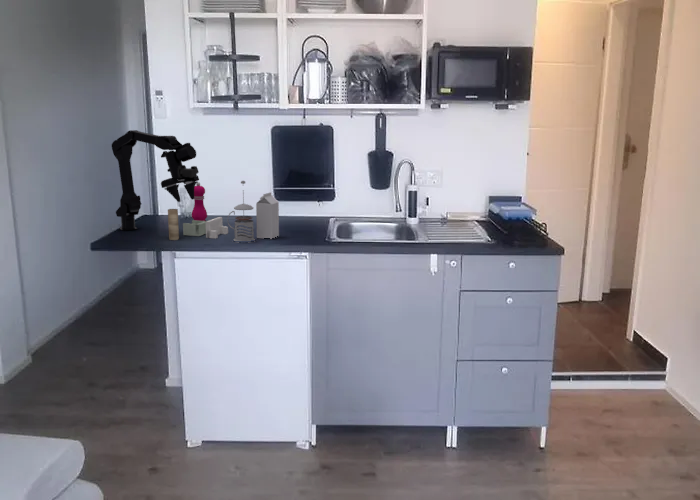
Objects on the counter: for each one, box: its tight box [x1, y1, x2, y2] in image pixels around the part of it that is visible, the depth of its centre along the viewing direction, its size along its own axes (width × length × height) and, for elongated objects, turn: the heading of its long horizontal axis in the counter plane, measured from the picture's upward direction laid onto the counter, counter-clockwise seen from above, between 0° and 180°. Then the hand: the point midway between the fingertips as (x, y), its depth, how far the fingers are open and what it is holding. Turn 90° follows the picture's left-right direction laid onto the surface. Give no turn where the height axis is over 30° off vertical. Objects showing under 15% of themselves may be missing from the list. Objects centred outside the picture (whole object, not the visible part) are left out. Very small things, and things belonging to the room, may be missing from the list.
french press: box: [227, 180, 256, 241], centre depth 263 cm, size 10×12×25 cm
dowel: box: [167, 208, 180, 241], centre depth 265 cm, size 4×4×12 cm
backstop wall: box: [205, 216, 229, 239], centre depth 274 cm, size 4×12×7 cm, turn 165°
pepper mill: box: [191, 181, 208, 221], centre depth 298 cm, size 7×7×20 cm
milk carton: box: [255, 191, 280, 240], centre depth 271 cm, size 7×7×19 cm
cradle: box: [182, 219, 207, 237], centre depth 277 cm, size 8×9×5 cm
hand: (186, 200), depth 270 cm, fingers open, 9 cm apart
